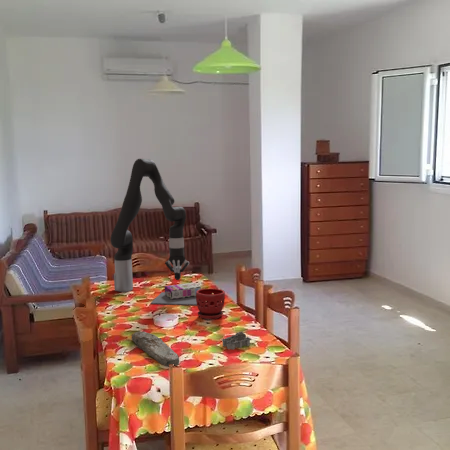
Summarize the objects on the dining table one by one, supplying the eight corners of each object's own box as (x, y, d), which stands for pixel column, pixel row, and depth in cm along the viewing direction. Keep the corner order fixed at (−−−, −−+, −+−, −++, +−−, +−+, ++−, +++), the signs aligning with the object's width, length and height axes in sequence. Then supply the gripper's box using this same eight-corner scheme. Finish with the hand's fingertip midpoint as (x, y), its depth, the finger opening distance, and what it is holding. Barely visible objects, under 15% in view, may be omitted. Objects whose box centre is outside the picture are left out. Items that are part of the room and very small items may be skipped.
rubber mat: (150, 304, 269) (150, 302, 268) (162, 293, 288) (162, 292, 288) (197, 305, 264) (197, 304, 264) (205, 294, 284) (205, 293, 284)
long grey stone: (161, 373, 189) (186, 368, 194) (161, 359, 188) (186, 354, 193) (125, 339, 218) (148, 335, 223) (125, 327, 217) (148, 323, 223)
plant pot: (222, 321, 239) (221, 295, 238) (193, 320, 242) (192, 294, 240) (227, 312, 252) (227, 287, 250) (200, 311, 255) (199, 286, 253)
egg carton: (243, 340, 216) (243, 330, 216) (253, 346, 210) (252, 335, 209) (219, 345, 211) (219, 335, 211) (229, 351, 205) (229, 340, 204)
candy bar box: (171, 300, 272) (201, 295, 279) (170, 290, 272) (201, 286, 278) (164, 295, 283) (193, 291, 289) (164, 285, 282) (193, 281, 288)
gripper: (161, 247, 269) (163, 281, 271) (187, 247, 266) (188, 281, 269) (166, 244, 276) (167, 277, 279) (191, 245, 274) (192, 278, 276)
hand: (177, 279), depth 274 cm, fingers closed
